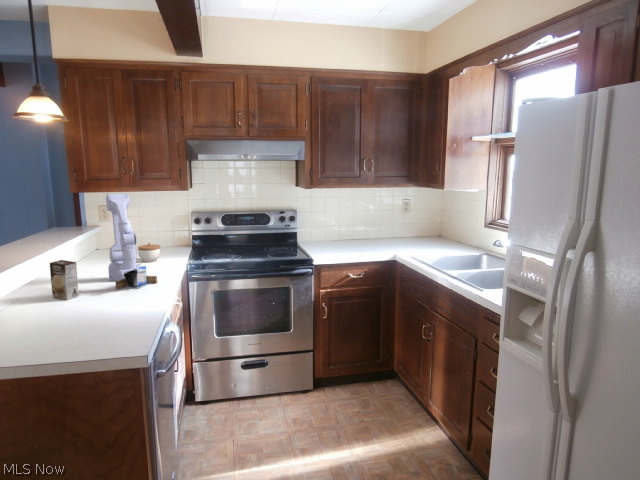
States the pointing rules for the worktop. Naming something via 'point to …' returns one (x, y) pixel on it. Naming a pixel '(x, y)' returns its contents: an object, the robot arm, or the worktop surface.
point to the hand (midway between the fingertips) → (131, 286)
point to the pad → (138, 286)
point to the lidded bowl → (149, 252)
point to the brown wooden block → (124, 283)
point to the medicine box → (140, 276)
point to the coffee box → (64, 279)
